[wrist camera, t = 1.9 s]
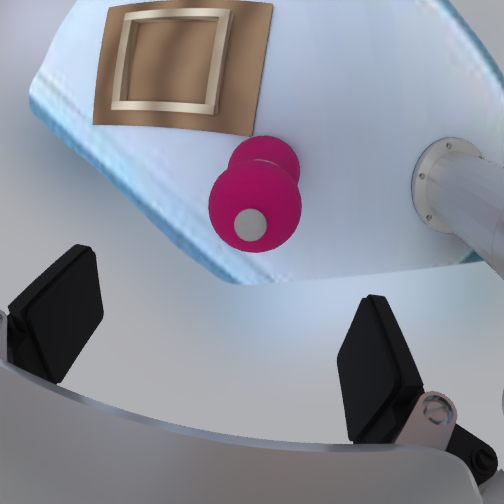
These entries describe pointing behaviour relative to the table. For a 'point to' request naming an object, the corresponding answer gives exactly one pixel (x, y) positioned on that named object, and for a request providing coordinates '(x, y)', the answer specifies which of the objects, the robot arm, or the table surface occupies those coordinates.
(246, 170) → the pepper mill
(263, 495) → the robot arm
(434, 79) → the table surface
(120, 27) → the stand
